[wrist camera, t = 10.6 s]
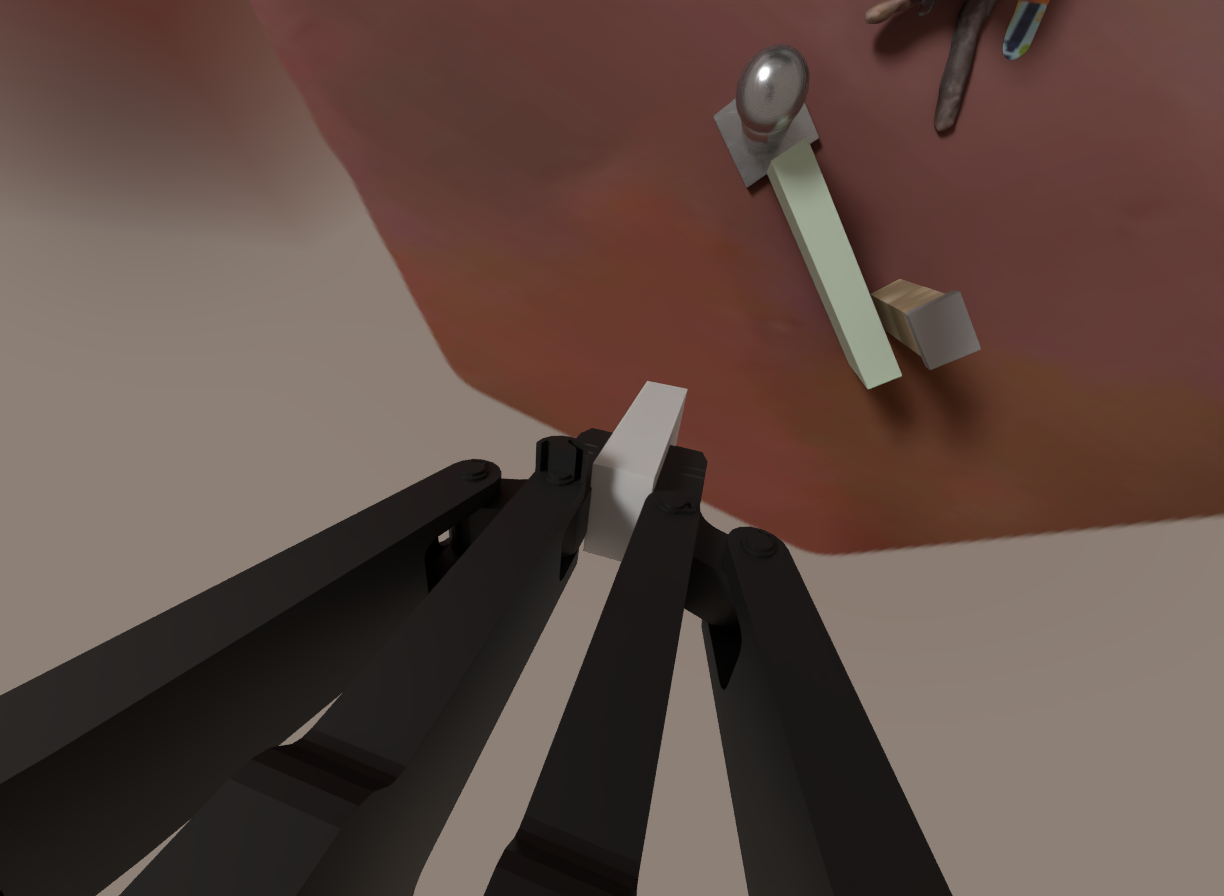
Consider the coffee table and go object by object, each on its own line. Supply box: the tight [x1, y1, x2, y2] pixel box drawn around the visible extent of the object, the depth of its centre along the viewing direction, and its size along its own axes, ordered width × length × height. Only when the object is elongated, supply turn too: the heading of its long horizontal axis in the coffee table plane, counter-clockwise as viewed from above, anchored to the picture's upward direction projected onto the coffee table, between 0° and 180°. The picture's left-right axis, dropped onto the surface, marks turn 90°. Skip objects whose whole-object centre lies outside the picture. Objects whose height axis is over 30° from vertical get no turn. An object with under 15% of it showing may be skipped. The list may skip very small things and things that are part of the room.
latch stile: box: [870, 279, 981, 370], centre depth 28 cm, size 2×3×10 cm
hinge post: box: [713, 44, 819, 188], centre depth 25 cm, size 5×5×11 cm
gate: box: [767, 137, 902, 389], centre depth 29 cm, size 15×2×6 cm, turn 32°
